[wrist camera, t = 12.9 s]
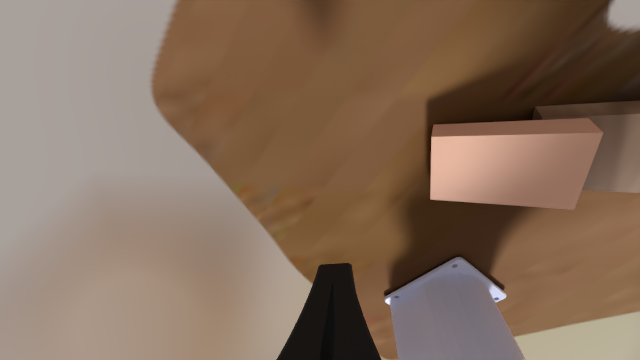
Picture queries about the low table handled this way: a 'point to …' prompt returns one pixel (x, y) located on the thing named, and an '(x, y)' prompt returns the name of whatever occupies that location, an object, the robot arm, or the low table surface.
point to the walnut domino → (607, 142)
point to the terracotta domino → (513, 161)
